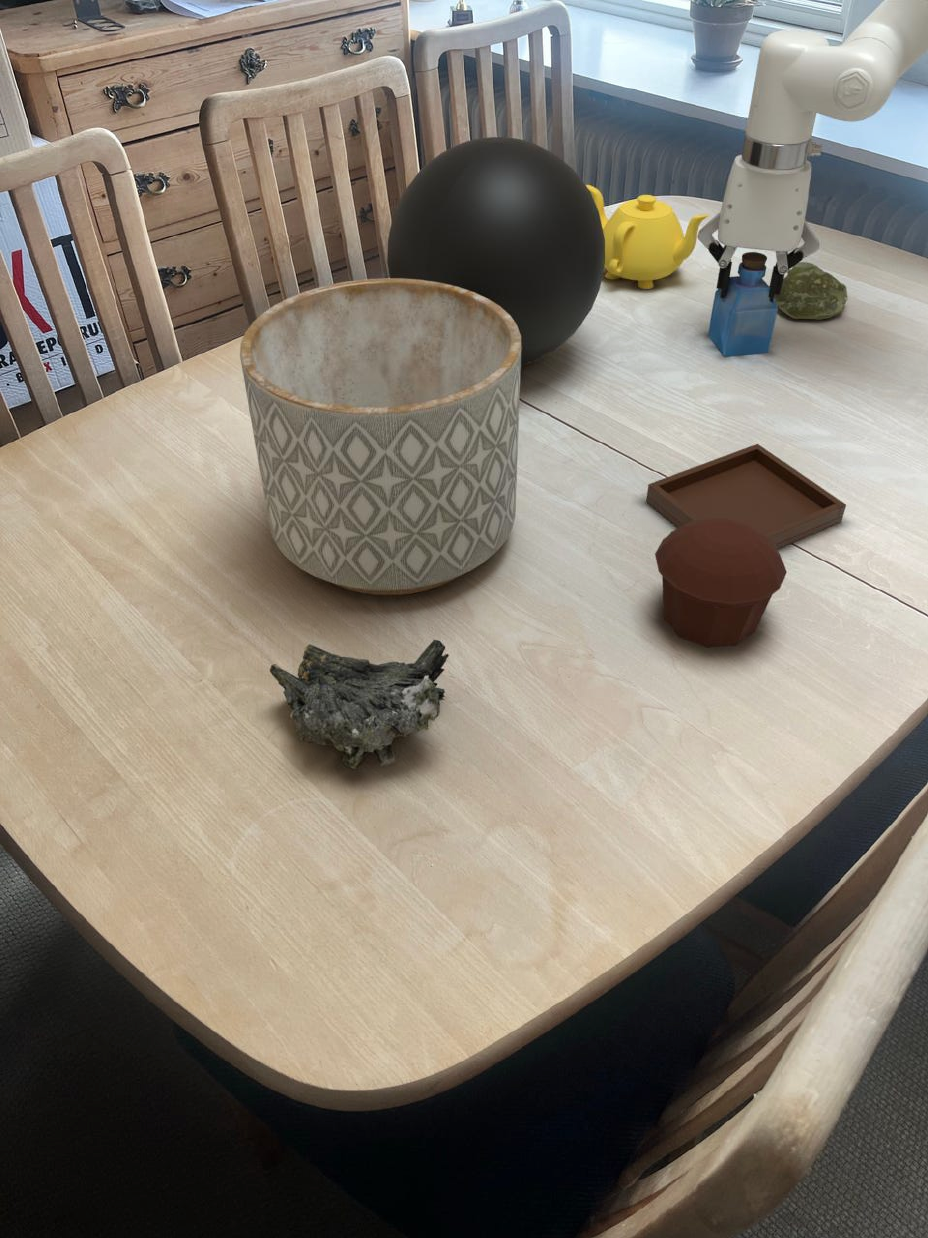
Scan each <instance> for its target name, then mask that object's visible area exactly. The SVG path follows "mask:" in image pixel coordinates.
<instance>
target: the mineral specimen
mask: <svg viewBox="0 0 928 1238" xmlns="http://www.w3.org/2000/svg"><path fill="white" fill-rule="evenodd" d="M445 649H446V645H444V644H443V642H441V641H440V640H439V639H433V640H432V642H430V644H429V645H428V646H427V647H426V648H425V649H424V650H423V652H422V653H421V654H420V655H419V657H418V658H417V659H416V660H415V661H414V663H413V662H409V663H405V662H399V661H390V662H384V663H379V664H374V663H371V662H370V660H369V659H366V658H365V659H364V658H362V659H361V658H355V657H349V656H341V655H340V654H335V653H331V652H329V651H326V650H324V649H322V648H320V647H317V646H315V645H314V644H313V645H312V644H311V643H309V644H308V645H307V646H306V647H305V648H304V652H303V656H302V661H301V663H299V666H298V669H297V676H298V677H297V676H295V675H294V674H292V673H291V672H289V671H287V670H285V669H282V667H280V666H278V665H277V664H276V663H273V664H271V665H270V668H269V673H270V674H271V675H272V677H274V679H275V680H276V681H277V682H278V685H279V686H281V687H282V688H283V689H284V690H283V695H284V697H285V700H286V701H285V702H286V704H287V706H288V708H290V709H291V710H292V711H291V713H290V716H289V718H291V719H293V720H294V722H295V731H297V733H298V736H299V740H300V741H302V742H304V743H307V744H310V743H311V742H313V743H315V744H317V745H322V746H327V747H328V746H334V748H335V749H336V750H337V751H338V752H339V751H340V752H345V755H344V756H343V758H342V761H343V764H344V765H345V766H346V767H349V768H351V769H353V770H356V769H357V767H358V766H359V765H360V762H363V761H364V760H365V759H366V755H368V754H369V753H373V754H374V756H375V757H376V761H377V763H378V764H379V765H380V766H386V765H390V764H393V763H394V762H395V760H396V758H395V755H394V752H393V745H392V742H393V741H394V738H397V737H404V738H407V737H408V735H409V734H412V733H413V734H414V733H418V732H420V731H421V730H428V729H429V721H433V722H434V721H435V719H436V718H438V717H439V716H440V714H441V708H440V707H441V703H440V701H444V700H445V698H446V696H445V692H446V691H445V689H444V688H440V687H437V686H438V683H437V682H436V680H437V679H438V678H439V677H440V676H441V675H442V674H443V673H444V671H445V670H446V669H445V668H442V667H443V666H444V665H445V663H446V662H447V660H448V658H449V656H450V655H449V653H445V654H444V651H445ZM443 654H444V655H443Z"/></svg>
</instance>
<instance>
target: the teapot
mask: <svg viewBox="0 0 928 1238" xmlns="http://www.w3.org/2000/svg"><path fill="white" fill-rule="evenodd" d="M585 186H586V187H587V188H588V190H589V191H590V193H591V195H592V197H593V199H594V202H595V204H596V206H597V208H598V211H599V215H600V219H601V223H602V228H603V233H604V237H605V266H604V269H605V270H606V271H607V272H606V273H605V276H604V277H605V278H606V279H608V280H619V279H620V278H622V279H626V280H632V281H637V287H638V288H640V289H643V290H650V289H653V288H654V280H659V279H664V278H666V277H669V276H670V275H672V273H674V272H675V271H676V270H677V269H678V268H679V267H681V265H683V262H684V261H685V260H687V259H688V258H689V257H690V256H691V255H692V253H693V252H694V250H695V248H696V245H697V240H698V238H697V236H698V232H699V227H700V225H701V223H702V222H703V221H704V220H706V219H707V218H708V217H710V214H697V215H695V216H693V217H692V218H691V219H690V220H689V222H688V225H687V228H686V231H685V234H684V230H683V228H682V225H681V223H680V221H679V219H678V217H677V215H676V213H675V211H674V209H673V208H672V206H670V205H669V204H668V203H665V202H664V201H660V200H657V197H656V196H655V195H651V194H641V195H639V196H638V197H637V198H636V199H631V200H627V201H624V202H623V203H621V204H620V205H619V206H618V207H617V209H615V210H614V212H613V214H611V216H610V217H609V218H608V217H607V215H606V212H605V202H604V196H603V194H602V193H601V191H600V190H599V189H598V188H596V187H594V186H592V185H590V184H585Z"/></svg>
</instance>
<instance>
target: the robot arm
mask: <svg viewBox="0 0 928 1238" xmlns="http://www.w3.org/2000/svg"><path fill="white" fill-rule="evenodd" d="M927 52H928V0H883V1H882V2H881V3H880V4H879V5H878V6H877V7H876V8H875V9H874V10H873V11H872V12H871V13H870V14H869V15H868V16H867V17H866V18H865V19H864V20H863V21H862V22H861V23H860V24H859V25H858V26H857V27H856V28H855V29H854V30H853V31H852V32H851V33H850V34H849V35H848V36H847V37H846V38H845V40H843V42H842V43H841V44H840V45H830V43H829V41H828V39H827V38H826V37H825V36H824V35H822V34H820V33H818V32H815V31H811V30H807V29H782V30H777V31H774V32H771V33H769V34H768V35H767V36H766V37H765V38H764V40H762V42H761V45H760V48H759V53H758V59H757V63H756V70H755V77H754V82H753V89H752V93H751V99H750V100H751V101H750V106H749V112H748V117H747V122H746V123H747V124H746V129H745V134H744V140H743V146H742V152H741V154H739V155H736V156H735V158H734V161H733V162H732V165H731V169H730V171H729V175H728V179H727V181H726V186H725V190H724V196H723V199H722V204H721V209H720V211H719V212H718V213H717V214H716V215H715V216H714V217H712V219H710V220H709V221H708V222H707V223H706V224H705V225H704V226H702V227H701V228H700V229H698V231H697V240H698V241H699V242H700V243H701V245H703V246H704V248H706V249H707V250H708V253H709V254H710V255H711V257H712V258H713V259H714V260H715V261H716V262H717V266H718V267H719V271H718V276H717V283H716V290H718V289H722V291H721V297H720V298H724V297H726V294H727V289H728V283H729V278H730V277H731V271H732V266H733V261H732V258H733V256H734V255H735V253H736V251H737V249H738V248H740V249H750V250H760V251H772V252H775V256H776V257H775V258H776V263H775V265H773V268H772V272H771V276H770V277H771V278H770V282H769V285H768V286H769V287H770V291H769V296H768V297H769V298H770V300H769V301H770V302H772V303H773V300H774V295H780V292H781V288H782V283H783V279H784V278H785V275H786V274H788V273H787V272H788V270H789V269H792V267H793V266H795V265H796V264H797V263H800V262H803V260H804V259H805V258H808V257H809V256H811V255H813V254H814V253H816V252H818V251H819V249H820V241H819V239H818V238H817V235H815V233H814V231H813V229H812V228H811V226H810V224H808V222H807V220H806V216H807V210H808V203H809V197H810V191H811V190H810V189H811V180H812V163H811V162H810V161H809V160H810V159H811V158H814V157H821V155H822V149H823V143H817V142H816V141H814V139H812V135H813V131H814V127H815V122H816V117H817V114H818V115H821V116H825V117H828V118H831V119H834V120H837V121H842V122H849V123H850V122H860V121H864V120H867V119H869V118H871V117H872V116H874V115H876V114H877V113H878V112H879V111H880V110H881V109H882V108H883V107H884V106H885V105H886V103H887V101H888V100H889V98H890V96H891V94H892V92H893V90H894V87H895V86H896V83H897V81H898V80H899V79H900V78H901V77H902V76H903V75H904V74H905V73H906V72H907V71H908V70H910V68H911V67H913V65H914V64H915V63H916V62H918V61H919V60H920V59H921V58H922V57H923V56H924V55H925V54H926V53H927ZM716 231H717V239H716V238H715V237H714V236H713V235H714V233H715V232H716ZM801 240H802V241H803V242H804V244H802V245H801V246H799V245H800V242H801ZM723 245H724V246H723Z"/></svg>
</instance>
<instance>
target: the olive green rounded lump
mask: <svg viewBox="0 0 928 1238" xmlns="http://www.w3.org/2000/svg"><path fill="white" fill-rule="evenodd" d="M786 274H787V275H786V276H784V279H783V283H782V288H781V292H780V295H774V300H775V302H776V305H777V308H778V309H780V310H781V312H783V313H784V314H785V315H787V316H789V317H790V318H792V319H794V320H819V321H820V320H825V319H826V320H827V319H830V318H832V317H834V316H837V315H839V314H841V312H842V311H843V310H844V308H845V305H846V303H847V302H848V297H849V296H848V292H847V286H846V285H845V284H844V283H842V282H841V281H840V280H838V278H837V277H835V276H834V275H832V274H831V273H829V272H827V271H824V270H823V269H822V268H820V267H818V265H815V264H814V263H811V262H807V261H800V262H799V263H797V264H796V265H795V266H793V267H792V268H790V269H789V270H788V272H787V273H786Z"/></svg>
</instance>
